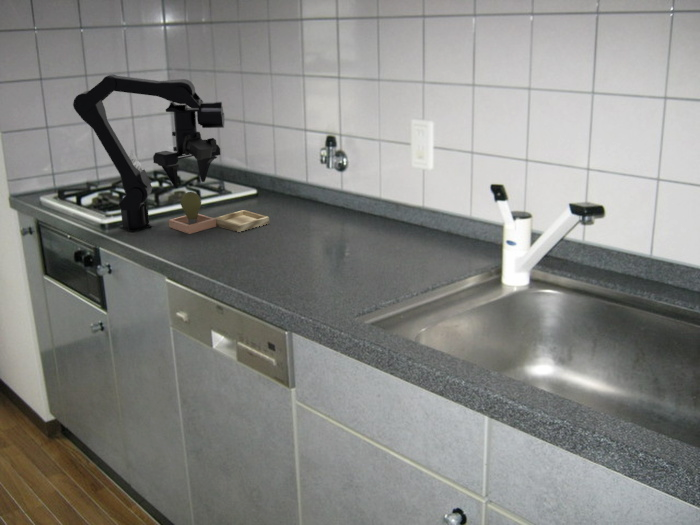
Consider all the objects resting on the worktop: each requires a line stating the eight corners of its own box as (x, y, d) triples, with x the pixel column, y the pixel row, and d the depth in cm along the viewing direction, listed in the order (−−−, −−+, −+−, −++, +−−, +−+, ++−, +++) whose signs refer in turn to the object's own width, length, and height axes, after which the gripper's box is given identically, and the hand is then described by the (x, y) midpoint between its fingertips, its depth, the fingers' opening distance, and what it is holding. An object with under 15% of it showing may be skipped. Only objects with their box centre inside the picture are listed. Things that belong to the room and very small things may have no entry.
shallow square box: (189, 234, 209) (188, 226, 208) (169, 227, 215) (168, 219, 214) (216, 226, 215) (215, 218, 215) (196, 220, 221) (195, 212, 221)
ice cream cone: (127, 194, 249) (122, 148, 244) (143, 192, 251) (138, 147, 246) (130, 198, 245) (125, 151, 239) (146, 196, 247) (141, 149, 241)
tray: (239, 232, 210) (238, 225, 209) (213, 224, 217) (213, 218, 216) (269, 223, 217) (269, 217, 217) (243, 216, 224) (243, 209, 224)
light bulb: (179, 229, 213) (176, 194, 210) (188, 223, 218) (185, 189, 215) (197, 230, 212) (194, 195, 209) (206, 224, 217) (204, 190, 214)
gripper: (175, 136, 195) (180, 196, 200) (232, 126, 208) (235, 183, 213) (149, 131, 201) (154, 189, 207) (205, 122, 215) (209, 177, 220)
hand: (189, 184), depth 212 cm, fingers open, 9 cm apart
